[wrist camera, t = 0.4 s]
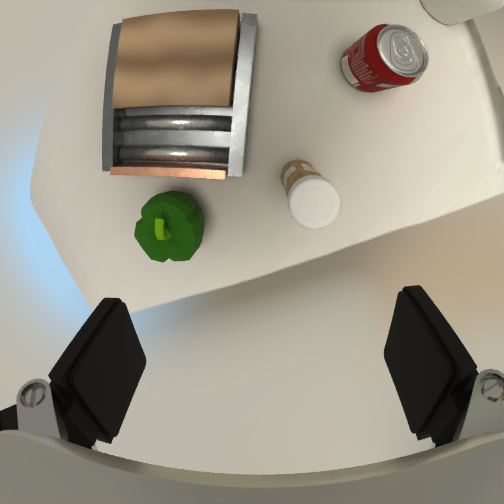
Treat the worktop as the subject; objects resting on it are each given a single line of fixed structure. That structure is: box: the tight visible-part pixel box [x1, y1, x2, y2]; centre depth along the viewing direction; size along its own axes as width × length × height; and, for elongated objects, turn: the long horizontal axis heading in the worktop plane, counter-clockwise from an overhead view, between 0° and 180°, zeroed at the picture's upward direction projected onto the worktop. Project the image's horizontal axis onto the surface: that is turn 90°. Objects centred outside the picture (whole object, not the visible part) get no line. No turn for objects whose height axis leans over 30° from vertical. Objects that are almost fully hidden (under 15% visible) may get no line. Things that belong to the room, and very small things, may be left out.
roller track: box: [102, 13, 258, 180], centre depth 30 cm, size 20×18×5 cm
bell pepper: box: [134, 191, 204, 262], centre depth 34 cm, size 8×8×10 cm
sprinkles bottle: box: [281, 160, 341, 229], centre depth 30 cm, size 5×5×14 cm
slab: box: [112, 9, 240, 109], centre depth 27 cm, size 12×14×2 cm
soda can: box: [341, 24, 428, 92], centre depth 24 cm, size 7×7×12 cm
